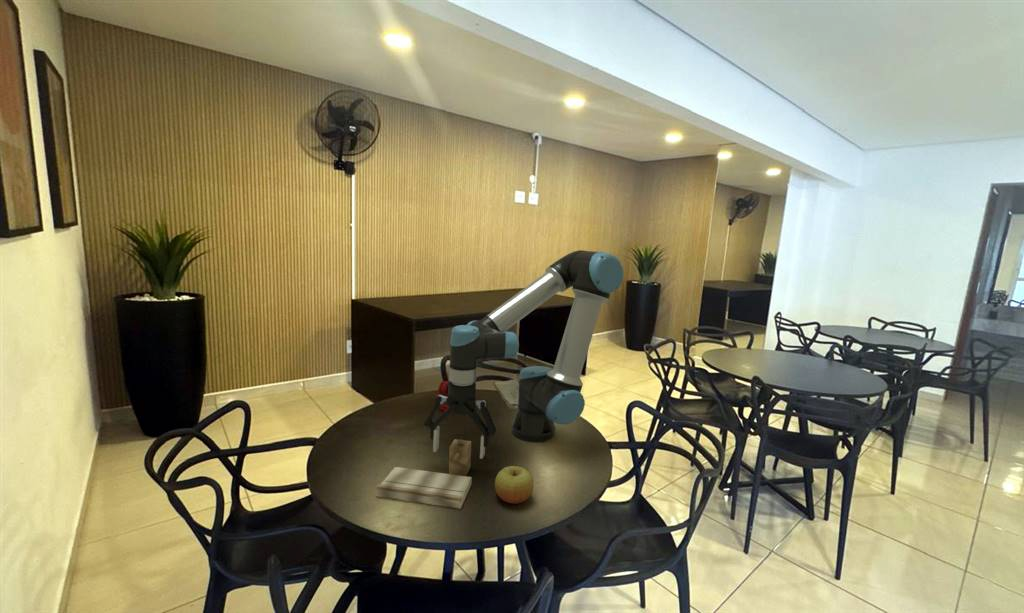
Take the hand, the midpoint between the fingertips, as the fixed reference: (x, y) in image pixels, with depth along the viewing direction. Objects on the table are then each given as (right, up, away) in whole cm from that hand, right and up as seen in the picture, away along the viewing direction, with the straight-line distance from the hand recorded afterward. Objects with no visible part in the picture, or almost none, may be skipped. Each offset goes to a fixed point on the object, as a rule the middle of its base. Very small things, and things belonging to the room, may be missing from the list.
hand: (458, 453), depth 123 cm
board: (-8, -7, -9) cm, 14 cm away
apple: (+15, -8, -11) cm, 20 cm away
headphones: (-7, +3, +49) cm, 50 cm away
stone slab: (+17, +3, +58) cm, 60 cm away
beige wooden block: (0, -5, 0) cm, 6 cm away
